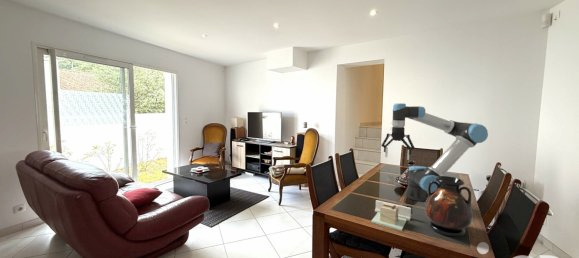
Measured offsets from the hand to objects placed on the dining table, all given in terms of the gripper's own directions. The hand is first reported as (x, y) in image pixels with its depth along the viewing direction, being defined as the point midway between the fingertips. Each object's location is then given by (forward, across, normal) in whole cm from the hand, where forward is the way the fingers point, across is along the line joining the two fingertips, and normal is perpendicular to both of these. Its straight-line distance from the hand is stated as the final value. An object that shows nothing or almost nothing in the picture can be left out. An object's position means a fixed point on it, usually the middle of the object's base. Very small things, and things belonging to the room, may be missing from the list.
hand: (396, 158), depth 156 cm
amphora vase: (+32, +30, -20) cm, 48 cm away
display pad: (+32, +3, -28) cm, 43 cm away
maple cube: (+31, +3, -28) cm, 42 cm away
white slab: (+32, +2, -18) cm, 36 cm away
